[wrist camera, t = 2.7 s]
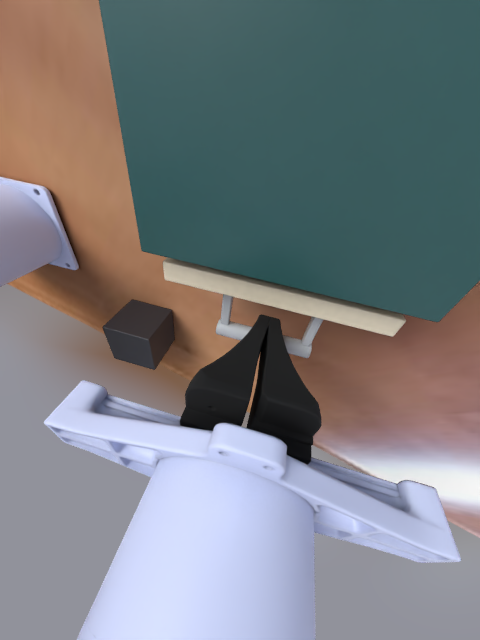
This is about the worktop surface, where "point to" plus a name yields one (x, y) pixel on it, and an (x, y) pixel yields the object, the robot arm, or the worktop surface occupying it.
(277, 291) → the drawer
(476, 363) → the worktop surface
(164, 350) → the block
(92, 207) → the worktop surface
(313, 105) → the cabinet
